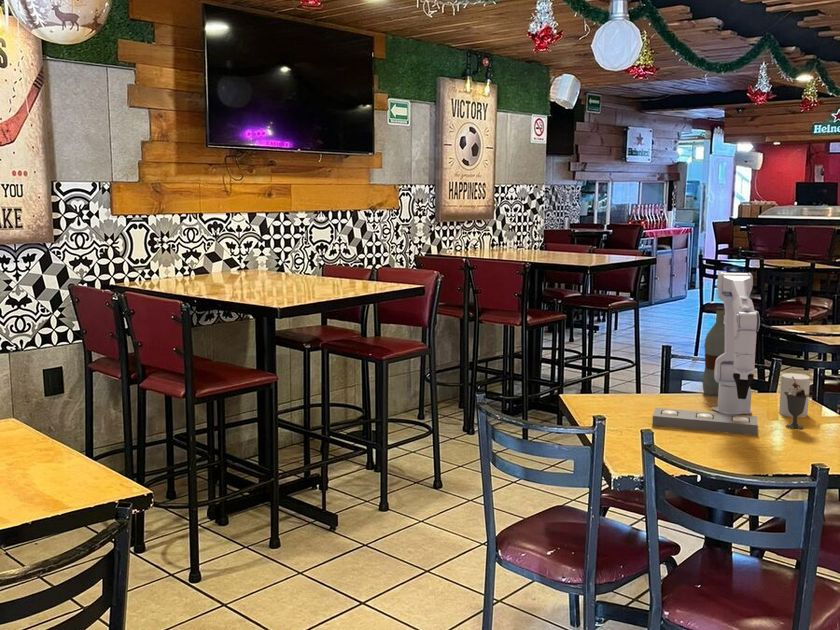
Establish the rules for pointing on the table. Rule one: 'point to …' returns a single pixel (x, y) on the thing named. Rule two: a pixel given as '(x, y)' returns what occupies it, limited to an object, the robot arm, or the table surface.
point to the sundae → (795, 403)
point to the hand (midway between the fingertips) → (741, 398)
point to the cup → (785, 386)
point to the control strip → (705, 421)
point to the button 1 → (669, 413)
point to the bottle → (713, 352)
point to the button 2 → (740, 419)
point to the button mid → (704, 416)
